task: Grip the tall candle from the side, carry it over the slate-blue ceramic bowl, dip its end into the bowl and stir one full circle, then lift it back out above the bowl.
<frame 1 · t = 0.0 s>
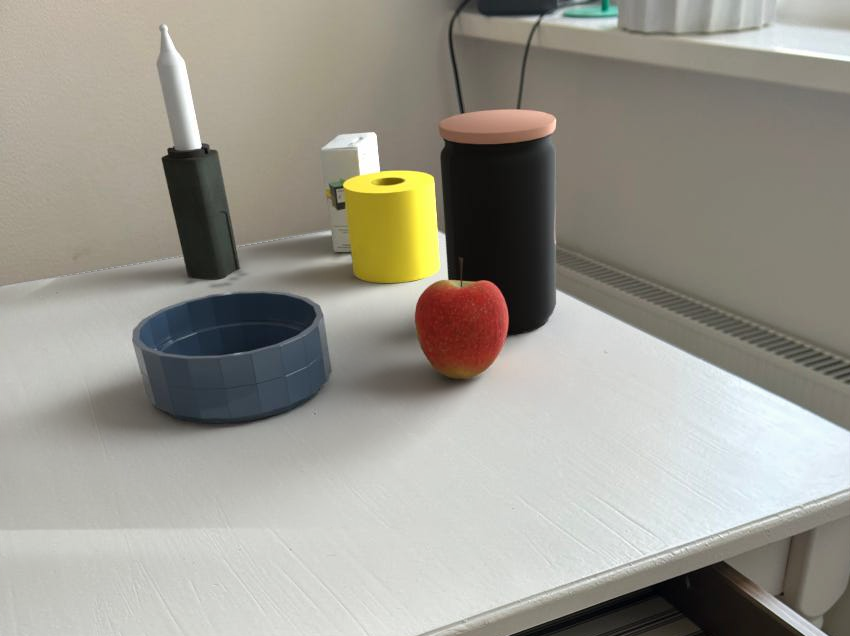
yellow toilet paper roll: (397, 270, 113), on the table
ink box: (360, 244, 123), on the table
bowl: (242, 387, 88), on the table
coffee jar: (503, 320, 99), on the table
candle: (214, 273, 116), on the table
apple: (464, 376, 88), on the table
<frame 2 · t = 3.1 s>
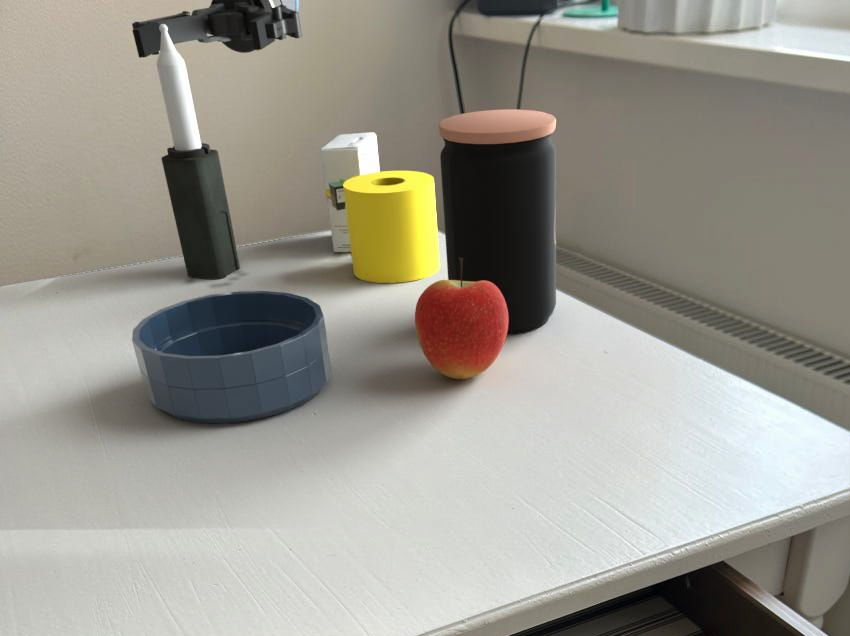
hand: (196, 39, 110), 22 cm above the table, tool horizontal, fingers open, 13 cm apart
nothing on the table moved.
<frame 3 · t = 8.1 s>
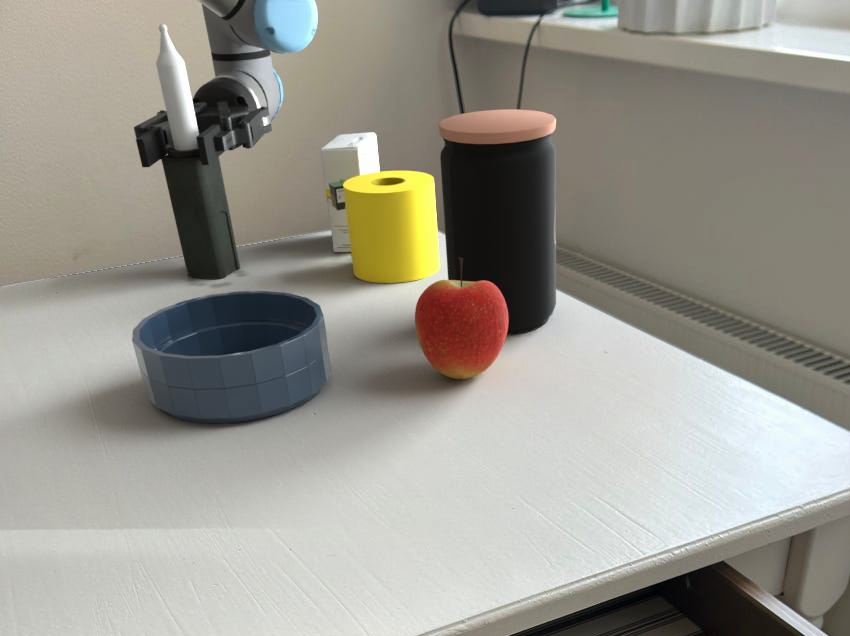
hand: (172, 152, 103), 14 cm above the table, tool horizontal, fingers closed on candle, 6 cm apart
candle: (214, 273, 116), on the table, touching gripper
everything else where it was.
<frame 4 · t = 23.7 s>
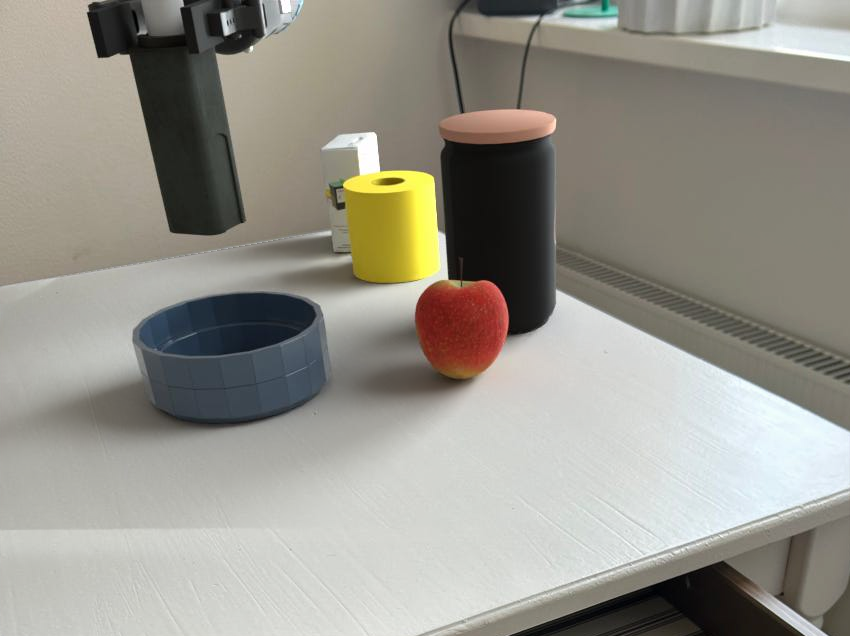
hand: (143, 33, 67), 28 cm above the table, tool horizontal, fingers closed on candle, 6 cm apart
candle: (208, 228, 80), point 14 cm above the table, touching gripper
everything else where it was.
at the end: the gripper is holding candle; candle inside the target area on the bowl (0.0 cm from its centre), point 13.7 cm above the bowl's base; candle tilted 0° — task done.
